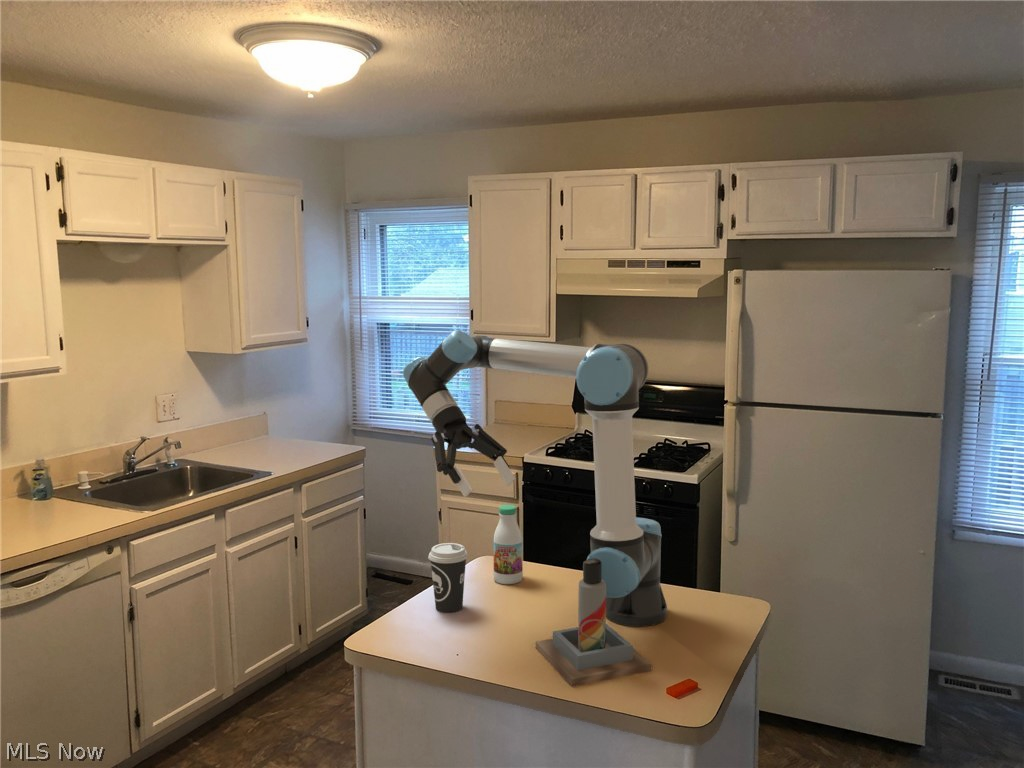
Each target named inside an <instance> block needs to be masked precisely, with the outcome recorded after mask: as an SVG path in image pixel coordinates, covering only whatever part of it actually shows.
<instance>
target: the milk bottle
mask: <svg viewBox="0 0 1024 768" xmlns="http://www.w3.org/2000/svg"><path fill="white" fill-rule="evenodd" d="M498 516H499V521H498V523H497V526H496V528H495V531H494V534H493V580H494V581H495V582H496V583H498V584H501V585H514V584H519V583H521V582H522V580H523V578H524V577H523V573H524V571H523V570H524V567H523V563H524V561H523V560H524V558H523V553H524V552H523V534H522V531H521V529H520V526H519V524H518V521H517V517H516V516H517V506H516V505H513V504H505V505H504V504H502V505H500V506H499V507H498Z"/></svg>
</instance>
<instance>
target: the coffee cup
mask: <svg viewBox="0 0 1024 768" xmlns="http://www.w3.org/2000/svg"><path fill="white" fill-rule="evenodd" d="M468 558H469V555H468V552H467V550H466V548H465V546H464V545H463V544H459V543H456V542H455V543H454V542H447V543H446V542H444V543H439V544H435V545H434V546H432V547H431V551H430V552H429V554H428V557H427V559H428V560H429V561H430V568H431V578H432V585H433V593H434V594H433V595H434V597H433V598H434V605H435V610H436V611H437V612H439V613H444V614H454V613H457V612H460V611H461V610H462V609H463V604H464V590H465V579H466V575H465V574H466V564H467V563H466V562H467V559H468Z"/></svg>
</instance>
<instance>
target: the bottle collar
mask: <svg viewBox="0 0 1024 768" xmlns="http://www.w3.org/2000/svg"><path fill="white" fill-rule="evenodd" d="M552 639H553V646H554V647H555V648H556V649H557V650H558V651H559V652H560V653H561V654H562V655H563V656H564V657H565V658H566V659H567V660H568V661H569V662H570V663H571V664H572V665H573V666H574V667H575V668H576V669H577V670H578V671H579V670H584V669H589V668H594V667H599V666H604V665H609V664H614V663H619V662H624V661H629V660H633V648H634V645H633V644H631V642H629V641H628V640H627V639H625V638H624V637H623V636H621V635H620V634H619V633H618V632H617V631H616V630H614V629H613V628H612V627H611V626H610V625H609V624H607V623H606V642H607V643H608V644H609V645H610V646H611V647H609V648H603V649H598V650H593V651H587V652H582V653H581V652H580V651H579V650H578V649H577V648H576V647H575V646H573V645H572V644H575V643H578V626H577V627H570V628H565V629H558V630H552Z"/></svg>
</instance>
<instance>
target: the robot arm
mask: <svg viewBox="0 0 1024 768" xmlns="http://www.w3.org/2000/svg"><path fill="white" fill-rule="evenodd" d="M647 360H648V359H647V358H646V355H645V354H644V353H643V352H642V351H641V350H640V349H639V348H637V347H636V346H634V345H632V344H629V343H617V344H607V343H606V344H605V343H603V344H602V343H596V344H594V345H593V346H592V347H590V346H581V345H580V346H579V345H568V344H558V343H549V342H547V343H546V342H537V341H529V340H528V341H527V340H516V339H506V338H495V337H494V338H493V337H491V336H488V335H475V336H471V335H470V334H468V333H467V332H466V331H462V330H460V329H455V330H453V331H452V332H451V333H450V334H449V335H448V336H446V337H445V338H444V339H443V341H442V342H441V343H440V344H439V345H438V347H436V349H435V350H433V352H432V353H431V354H430V355H429V356H428V357H426V356H419V357H415V358H413V359H412V361H409V362H408V363H407V364H406V365H405V366H404V368H403V371H402V375H403V378H404V379H405V381H406V383H407V386H408V388H409V390H410V391H411V392H412V393H413V395H414V397H415V398H416V399H417V401H418V403H419V404H420V407H421V408H422V410H423V412H424V413H425V415H426V416H427V418H428V420H429V421H430V422H431V425H432V427H433V429H434V430H435V432H434V434H433V435H432V437H431V441H432V442H431V443H432V444H433V447H434V454H435V455H434V457H435V465H436V471H437V472H438V473H442V474H443V475H445V476H449V478H450V480H451V481H452V483H453V484H455V485H456V486H457V488H458V490H459V491H460V493H461V494H462V495H463V498H467V497H468V496H469V495H470V494H471V492H472V491H473V488H472V487H471V485H470V483H469V481H468V479H467V477H466V476H465V475H464V474H463V471H462V470H461V468H460V466H459V465H456V466H455V463H456V458H457V457H456V456H457V450H461V449H462V448H463V449H466V448H469V449H471V450H472V449H474V450H476V451H477V452H479V453H481V454H483V455H484V456H486V457H487V458H489V459H491V460H492V461H494V462H493V463H492V464H493V465H494V467H495V468H496V470H497V472H498V473H499V475H500V477H501V478H502V479H503V482H504V483H505V484H506V486H507V487H509V486H510V485H512V484H513V482H514V481H515V480H516V477H515V475H514V474H513V472H512V471H511V469H510V465H509V464H508V462H507V461H506V459H505V457H504V456H505V455H506V454H507V453H508V450H507V449H506V448H505V447H504V446H503V445H501V443H499V442H498V441H497V440H495V438H493V437H492V436H490V434H488V433H487V431H484V429H483V428H482V426H481V425H480V424H478V423H476V424H475V425H474V426H473V427H471V426H469V425H468V424H467V418H466V415H465V414H464V412H463V411H462V409H461V408H460V407H459V406H458V402H457V401H456V400H455V399H454V397H453V395H452V394H451V391H450V390H449V389H448V387H447V384H449V382H450V381H451V380H452V379H453V378H454V377H455V376H456V375H458V373H459V372H460V371H464V370H467V369H472V368H473V369H474V368H485V369H496V370H505V371H512V372H521V373H531V374H538V375H547V376H555V377H561V378H562V377H564V378H573V379H576V386H577V389H578V390H579V392H580V394H581V395H582V396H583V398H584V401H583V403H584V411H585V412H586V413H587V414H588V415H589V416H590V417H591V420H592V441H593V442H592V444H593V445H592V446H593V468H594V489H595V512H596V513H595V514H596V516H595V518H596V525H595V526H594V527H593V528H591V530H590V532H589V535H590V536H589V537H590V539H589V540H590V553H589V554H588V555H587V558H586V560H588V559H593V558H595V559H599V560H600V561H601V562H602V578H601V580H603V581H605V583H606V620H607V619H608V620H609V621H611V622H613V623H616V624H619V625H623V626H631V627H648V626H655V625H658V624H660V623H662V622H664V621H665V620H666V618H667V617H668V605H667V602H666V601H667V600H666V599H665V595H664V592H663V589H662V585H661V554H662V553H661V552H662V549H661V548H662V547H661V546H662V531H661V530H662V529H661V525H660V523H659V522H658V521H656V520H655V519H649V518H645V517H637V511H636V508H637V507H636V484H635V466H634V465H635V461H634V459H635V457H634V434H633V416H634V414H635V413H636V412H637V411H638V410H639V408H640V404H639V403H640V400H639V391H640V389H641V388H642V387H643V386H645V385H644V384H645V383H646V382H647V379H648V375H649V363H648V361H647ZM445 442H446V443H447V448H446V447H445ZM446 451H447V452H446ZM446 453H447V454H446Z"/></svg>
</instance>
